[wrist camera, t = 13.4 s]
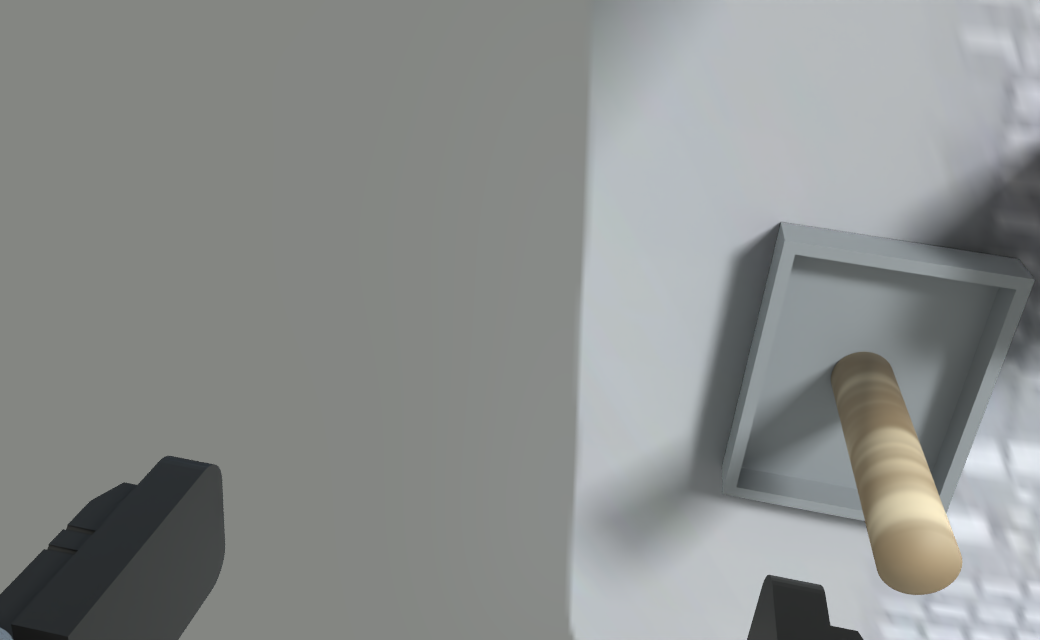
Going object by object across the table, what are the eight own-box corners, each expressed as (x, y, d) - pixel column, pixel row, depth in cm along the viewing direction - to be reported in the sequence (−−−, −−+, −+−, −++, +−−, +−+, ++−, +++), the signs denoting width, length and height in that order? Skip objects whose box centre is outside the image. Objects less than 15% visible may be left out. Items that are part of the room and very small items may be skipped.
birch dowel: (839, 347, 47) (888, 524, 35) (900, 357, 47) (973, 539, 35) (824, 398, 49) (867, 586, 36) (884, 408, 48) (948, 601, 36)
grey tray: (781, 221, 46) (784, 240, 43) (1018, 258, 44) (1035, 279, 42) (721, 467, 52) (722, 494, 50) (927, 505, 51) (938, 534, 49)
